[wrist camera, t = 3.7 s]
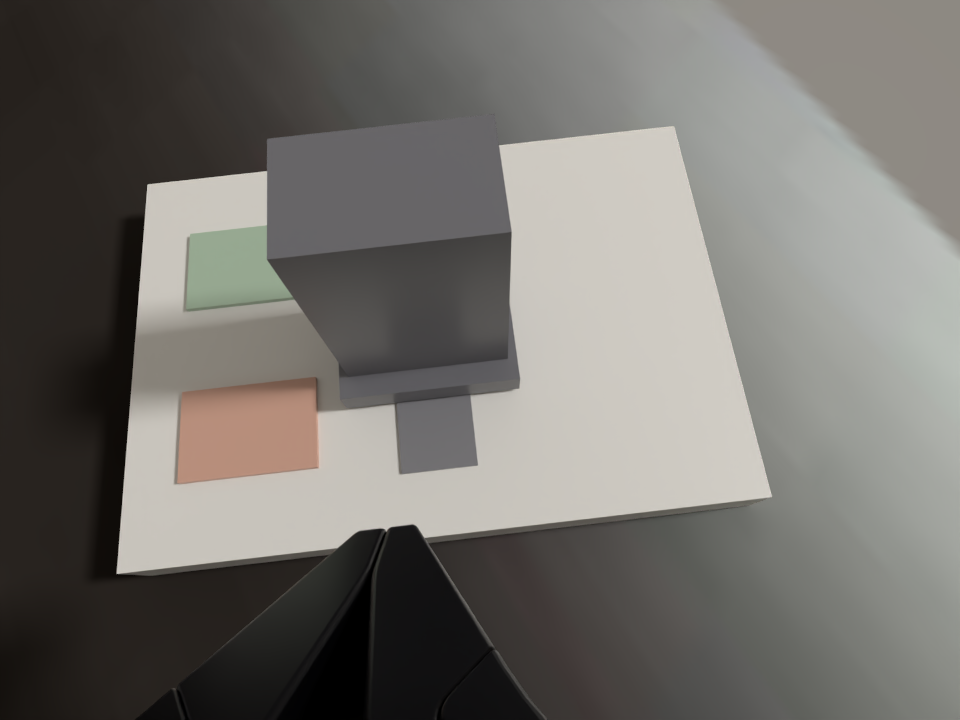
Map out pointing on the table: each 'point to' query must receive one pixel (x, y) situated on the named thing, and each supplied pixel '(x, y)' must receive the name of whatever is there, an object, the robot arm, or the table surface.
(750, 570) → the table surface
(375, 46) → the table surface
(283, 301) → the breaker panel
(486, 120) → the handle
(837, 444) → the table surface
